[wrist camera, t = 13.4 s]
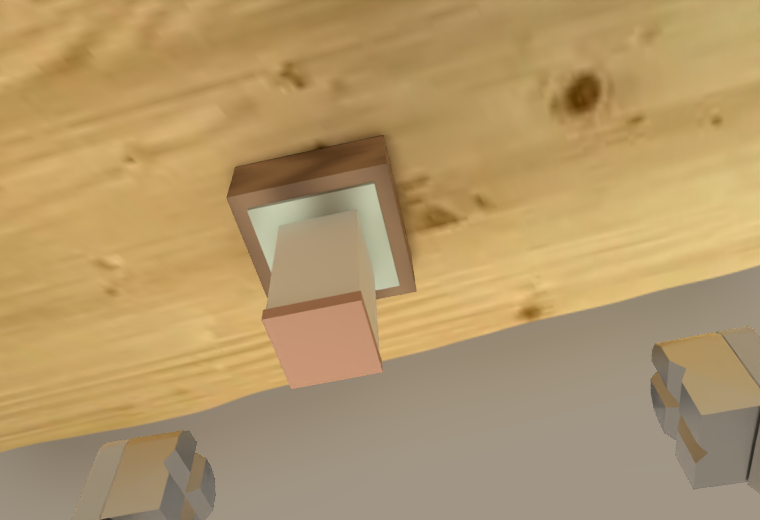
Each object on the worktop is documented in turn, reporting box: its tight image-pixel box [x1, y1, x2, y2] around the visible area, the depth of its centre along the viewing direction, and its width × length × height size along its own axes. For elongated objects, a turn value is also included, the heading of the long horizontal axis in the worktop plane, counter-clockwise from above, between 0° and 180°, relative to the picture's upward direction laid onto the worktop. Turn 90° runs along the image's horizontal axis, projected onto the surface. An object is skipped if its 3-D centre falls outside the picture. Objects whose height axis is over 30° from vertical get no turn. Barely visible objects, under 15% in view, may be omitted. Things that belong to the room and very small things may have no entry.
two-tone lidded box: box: [262, 209, 383, 389], centre depth 38 cm, size 5×5×9 cm
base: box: [227, 135, 416, 299], centre depth 43 cm, size 10×10×4 cm
